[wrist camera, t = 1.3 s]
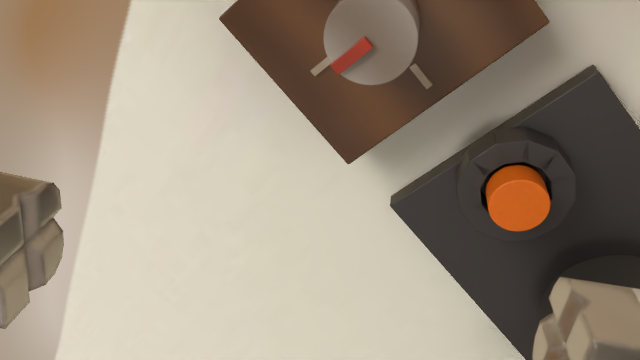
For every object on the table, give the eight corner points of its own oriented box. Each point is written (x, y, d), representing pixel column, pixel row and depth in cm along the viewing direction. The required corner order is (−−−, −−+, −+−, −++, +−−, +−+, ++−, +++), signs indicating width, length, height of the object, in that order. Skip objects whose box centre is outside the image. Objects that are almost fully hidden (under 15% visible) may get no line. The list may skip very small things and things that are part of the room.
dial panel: (416, -166, 27) (414, -169, 25) (540, 8, 30) (551, 23, 27) (235, 6, 32) (216, 19, 30) (354, 142, 35) (347, 166, 32)
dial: (383, -43, 27) (377, -29, 24) (437, 27, 28) (437, 49, 25) (317, 14, 29) (302, 34, 26) (370, 78, 30) (363, 105, 27)
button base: (386, 190, 36) (382, 216, 33) (588, 57, 31) (602, 75, 28) (540, 366, 40) (547, 401, 38) (742, 276, 35) (767, 310, 32)
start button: (474, 184, 32) (476, 200, 31) (524, 153, 31) (528, 169, 29) (506, 223, 33) (510, 241, 31) (556, 195, 32) (562, 212, 30)
